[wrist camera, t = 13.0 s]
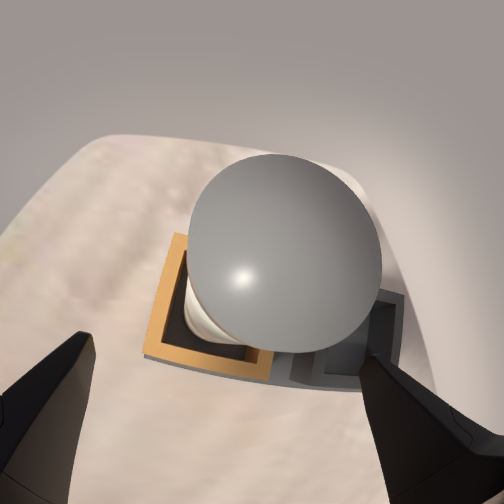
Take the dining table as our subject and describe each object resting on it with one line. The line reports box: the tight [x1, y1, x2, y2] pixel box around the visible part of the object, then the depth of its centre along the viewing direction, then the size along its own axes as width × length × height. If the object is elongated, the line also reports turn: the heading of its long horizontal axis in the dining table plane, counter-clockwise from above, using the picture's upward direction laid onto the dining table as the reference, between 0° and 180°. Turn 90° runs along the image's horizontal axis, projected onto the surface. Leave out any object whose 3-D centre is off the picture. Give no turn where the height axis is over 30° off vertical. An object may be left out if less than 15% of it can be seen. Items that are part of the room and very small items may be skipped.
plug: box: [184, 154, 382, 353], centre depth 11 cm, size 4×4×13 cm
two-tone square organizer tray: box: [142, 232, 404, 392], centre depth 17 cm, size 16×8×4 cm, turn 78°
